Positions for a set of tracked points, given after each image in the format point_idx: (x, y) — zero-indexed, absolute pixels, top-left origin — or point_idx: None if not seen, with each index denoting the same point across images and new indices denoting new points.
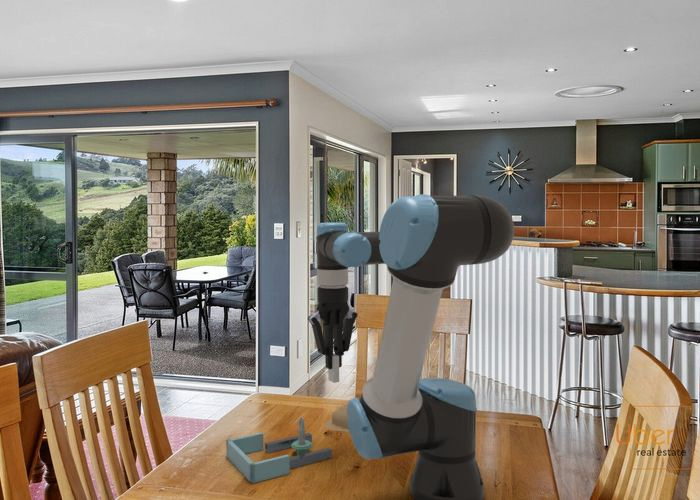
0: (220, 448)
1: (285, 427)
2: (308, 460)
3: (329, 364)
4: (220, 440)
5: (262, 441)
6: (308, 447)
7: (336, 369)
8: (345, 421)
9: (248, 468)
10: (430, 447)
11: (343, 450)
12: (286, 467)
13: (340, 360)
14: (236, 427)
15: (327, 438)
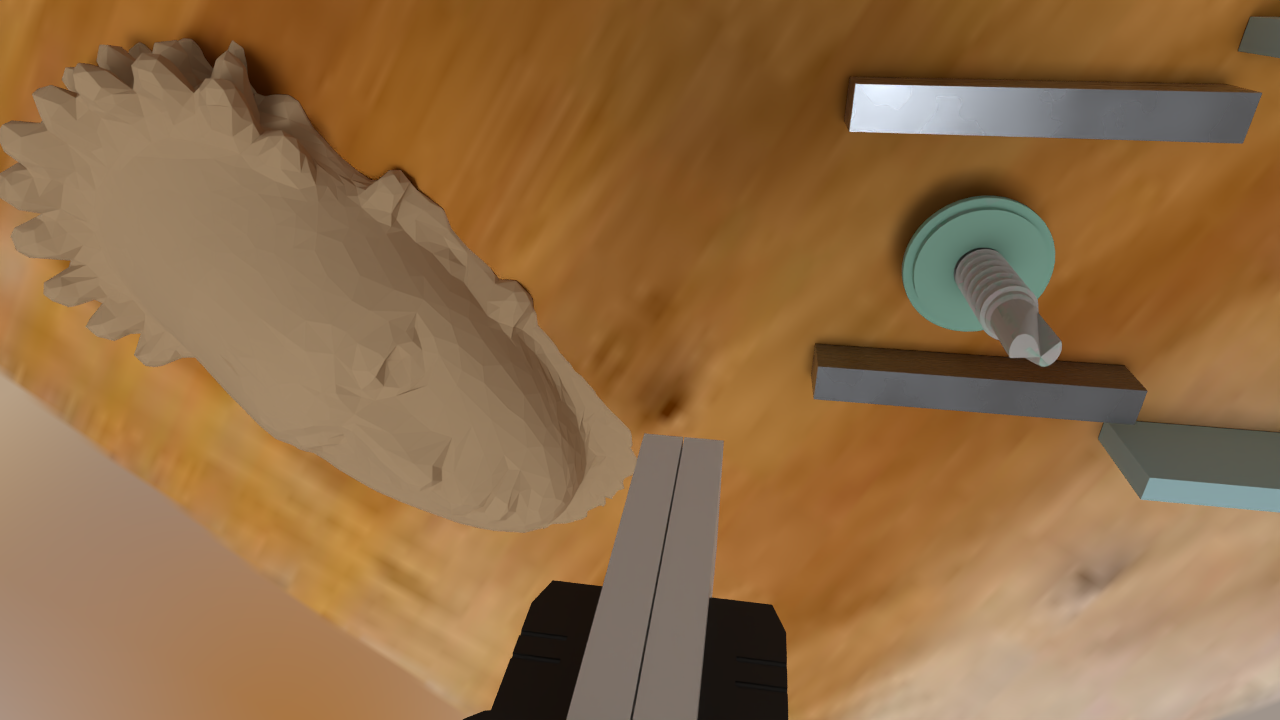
0: (1275, 557)
1: (815, 573)
2: (1047, 84)
3: (761, 666)
4: (1196, 630)
5: (1132, 448)
6: (973, 203)
7: (660, 553)
8: (540, 405)
9: None
10: None
11: (721, 138)
12: None
13: (533, 670)
14: (1018, 697)
15: (705, 340)
